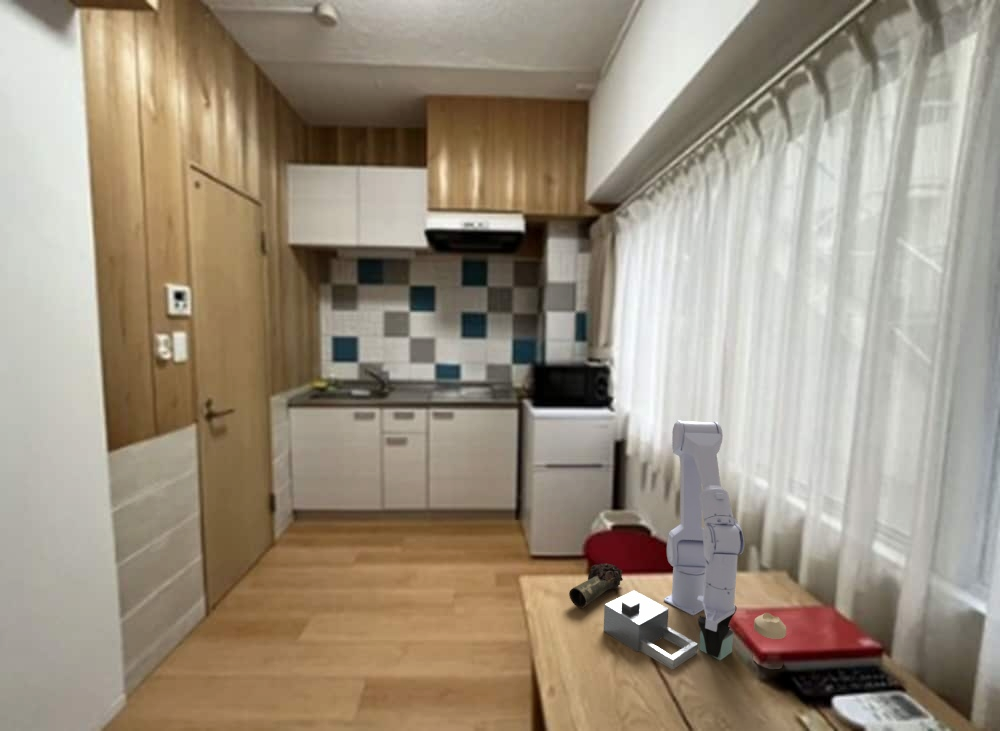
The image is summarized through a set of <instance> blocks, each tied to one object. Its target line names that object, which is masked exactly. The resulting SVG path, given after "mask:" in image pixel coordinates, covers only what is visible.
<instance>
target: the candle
mask: <svg viewBox="0 0 1000 731" xmlns="http://www.w3.org/2000/svg"><path fill="white" fill-rule="evenodd" d="M753 622H754V624H753V625H754V626H753V630H754V629H755V631H757V632H758V633H759V634H761V635H762V636H764V637H767V638H771V639H782V638H784V637H785V636H786V637H787V626H786V625H785V624H784V622H783V621H782V620H781V619H780V617H779V616H774V615H772V614H771V613H769V612H764V613H763V614H761V615H757V617H755V618H754V621H753Z"/></svg>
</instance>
